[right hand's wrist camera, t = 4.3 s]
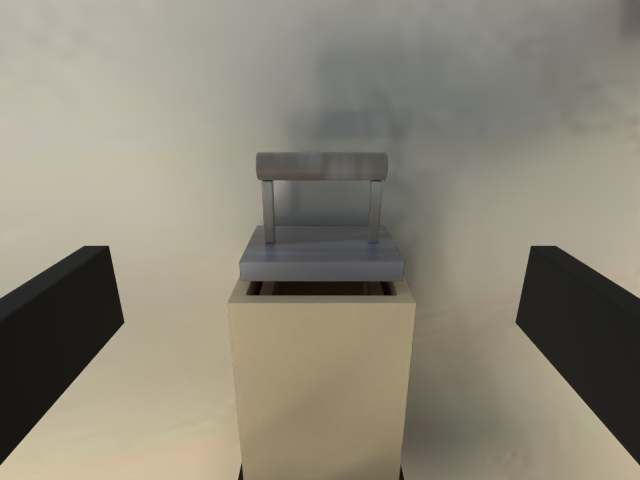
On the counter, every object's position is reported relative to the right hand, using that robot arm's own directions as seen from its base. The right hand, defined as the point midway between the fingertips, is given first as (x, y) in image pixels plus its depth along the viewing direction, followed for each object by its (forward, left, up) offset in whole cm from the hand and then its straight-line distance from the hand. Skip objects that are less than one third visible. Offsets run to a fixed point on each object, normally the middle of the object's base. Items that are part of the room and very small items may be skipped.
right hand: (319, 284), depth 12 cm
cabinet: (-12, -9, -15) cm, 21 cm away
